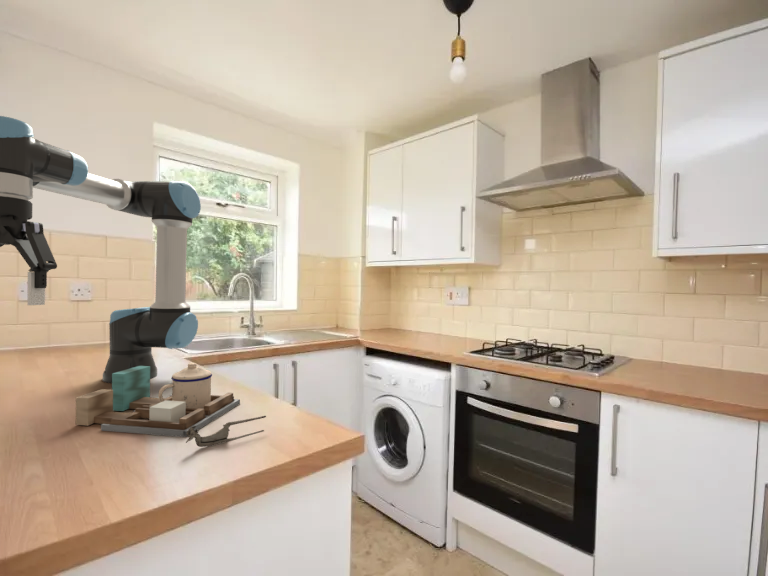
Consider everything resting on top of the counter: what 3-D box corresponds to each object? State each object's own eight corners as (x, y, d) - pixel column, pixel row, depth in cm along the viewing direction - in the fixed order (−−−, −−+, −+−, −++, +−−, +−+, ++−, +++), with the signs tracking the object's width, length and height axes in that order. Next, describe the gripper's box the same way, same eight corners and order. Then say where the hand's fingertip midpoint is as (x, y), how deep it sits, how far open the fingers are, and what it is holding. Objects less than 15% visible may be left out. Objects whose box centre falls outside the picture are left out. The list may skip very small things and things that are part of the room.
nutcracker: (264, 431, 84) (265, 409, 84) (266, 433, 84) (266, 410, 84) (184, 453, 73) (185, 426, 73) (186, 454, 73) (186, 428, 73)
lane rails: (170, 399, 105) (171, 394, 105) (239, 403, 102) (239, 399, 102) (100, 430, 83) (101, 424, 83) (186, 437, 80) (186, 431, 80)
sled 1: (103, 413, 92) (103, 388, 92) (205, 421, 89) (205, 395, 89) (73, 425, 84) (73, 398, 84) (184, 434, 81) (184, 405, 81)
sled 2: (143, 397, 105) (143, 364, 105) (233, 403, 101) (234, 369, 101) (107, 412, 93) (107, 374, 93) (208, 419, 90) (208, 380, 90)
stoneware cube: (165, 422, 89) (165, 400, 88) (185, 423, 88) (185, 401, 88) (149, 430, 84) (149, 407, 84) (170, 431, 83) (170, 408, 83)
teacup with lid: (203, 402, 103) (203, 358, 103) (217, 410, 97) (218, 364, 97) (152, 412, 95) (153, 364, 94) (164, 422, 88) (165, 371, 88)
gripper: (-70, 194, 75) (-70, 303, 76) (42, 193, 72) (42, 307, 73) (-25, 202, 83) (-25, 301, 83) (79, 201, 80) (78, 304, 80)
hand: (6, 304), depth 78 cm, fingers open, 13 cm apart
